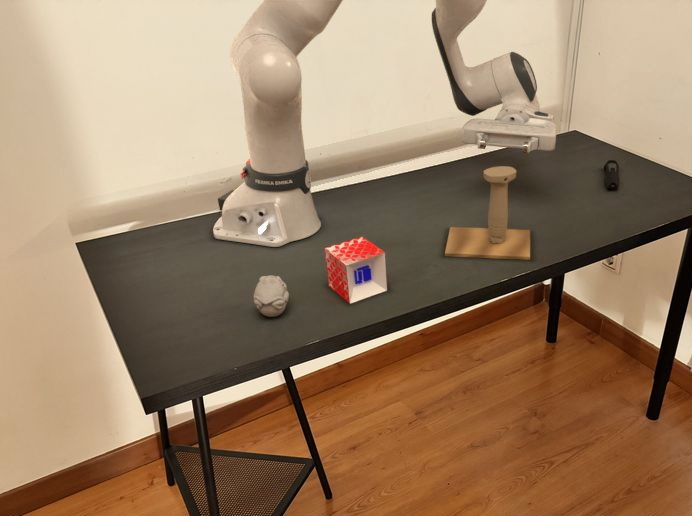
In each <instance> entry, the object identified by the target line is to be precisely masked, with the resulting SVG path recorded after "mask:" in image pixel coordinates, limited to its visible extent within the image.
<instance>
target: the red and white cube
mask: <svg viewBox="0 0 692 516" xmlns="http://www.w3.org/2000/svg"><path fill="white" fill-rule="evenodd" d="M324 256H325V264H326V274H327V282H328V287H329V288H330V289H332V290H333V291H334V292H335V293H336V294H338V295H339V296H340V297H341V298H343V300H344V301H346V302H347V303H348V304H350V305H351V304H353V303H357V302H359V301H362V300H364V299H367V298H370V297H372V296H375V295H378V294H382V293H384V292H387V291H388V283H387V267H386V252H385V251H384V250H382V249H381V248H379V247H378V246H377V245H375V244H374V243H372V242H371V241H370V240H368V239H367V238H365V237H364V236H359V237H356V238H353V239H349V240H346V241H343V242H340V243H337V244H333V245H330V246H328V247H324Z"/></svg>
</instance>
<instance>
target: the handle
mask: <svg viewBox="0 0 692 516" xmlns="http://www.w3.org/2000/svg"><path fill="white" fill-rule="evenodd" d="M516 178H517V169H515V167H512V166H508V165H507V166H506V165H505V166H504V165H502V166H493V167H492V166H491V167H489V168H486V169H485V170H483V179H484V180H485V181H486V182H488V183H490V193H489V204H488V212H487V213H488V214H487V228H488V229H489V234H490V235H489V240H490V241H491V242H492V243H493V244H494V243H498V244H501V243H502V242H503V241H505V237H506V235H505V234H506V230H507V229H508V223H509V221H508V220H509V199H508V198H509V195H508V194H509V189H508V188H509V183H510V182H511V181H514V180H515V179H516Z"/></svg>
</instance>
